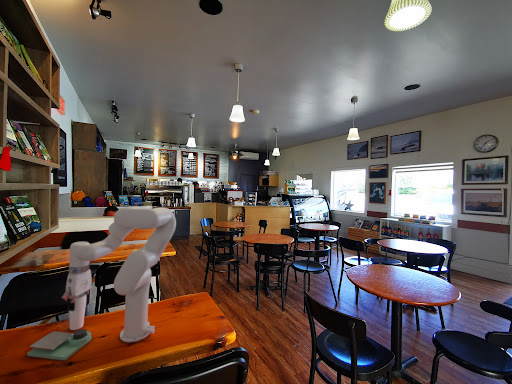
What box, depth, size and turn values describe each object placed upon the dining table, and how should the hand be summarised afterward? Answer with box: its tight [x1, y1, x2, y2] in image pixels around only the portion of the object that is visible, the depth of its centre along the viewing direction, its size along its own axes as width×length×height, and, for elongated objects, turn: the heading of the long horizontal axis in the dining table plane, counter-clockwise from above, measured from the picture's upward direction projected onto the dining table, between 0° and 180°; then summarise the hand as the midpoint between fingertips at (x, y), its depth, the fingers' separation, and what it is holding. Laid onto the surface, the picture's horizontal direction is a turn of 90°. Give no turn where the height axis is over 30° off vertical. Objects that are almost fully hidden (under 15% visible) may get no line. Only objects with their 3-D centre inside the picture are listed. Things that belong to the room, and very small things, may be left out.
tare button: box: [73, 328, 88, 340], centre depth 100 cm, size 4×4×2 cm
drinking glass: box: [68, 293, 87, 331], centre depth 110 cm, size 7×7×15 cm
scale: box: [26, 330, 93, 361], centre depth 97 cm, size 17×14×3 cm
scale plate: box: [28, 330, 74, 350], centre depth 96 cm, size 10×10×1 cm
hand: (77, 306), depth 110 cm, fingers closed on drinking glass, 6 cm apart
